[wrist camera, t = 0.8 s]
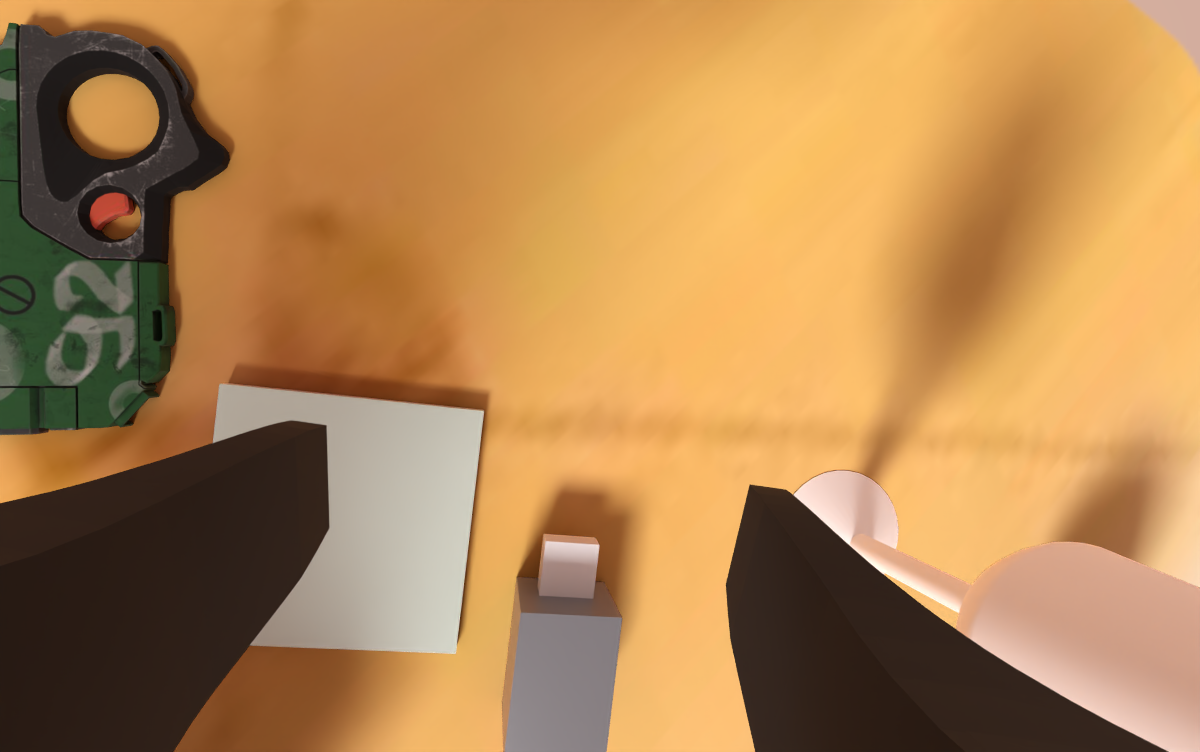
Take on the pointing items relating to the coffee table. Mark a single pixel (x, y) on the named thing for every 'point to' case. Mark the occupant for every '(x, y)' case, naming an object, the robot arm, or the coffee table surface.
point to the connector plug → (561, 653)
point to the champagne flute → (1053, 615)
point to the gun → (86, 234)
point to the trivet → (376, 519)
